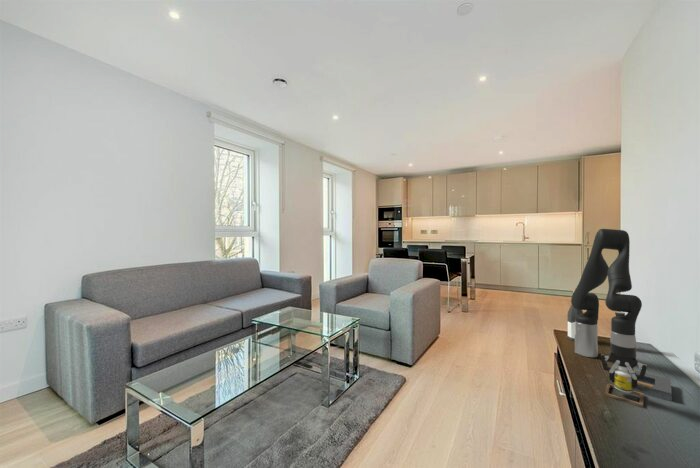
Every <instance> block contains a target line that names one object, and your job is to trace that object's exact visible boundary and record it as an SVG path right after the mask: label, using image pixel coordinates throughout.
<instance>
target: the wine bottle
mask: <svg viewBox="0 0 700 468" xmlns="http://www.w3.org/2000/svg"><path fill="white" fill-rule="evenodd" d="M574 291H575V289H574V290H573V291H572V294H573V293H574ZM583 313H584V310H579V309H575V308H574V307H573V306H572V304H571V306H569V309H568V310H567V339H569V340H570V341H573V342H575V335H576V330H575V317H576V316H577V315H579V314H583Z"/></svg>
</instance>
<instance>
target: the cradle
mask: <svg viewBox="0 0 700 468" xmlns="http://www.w3.org/2000/svg"><path fill="white" fill-rule="evenodd" d="M611 388H612V389H615V390H617V389H616V388H615V387H614V384H612V383H607V384H606V387H605V389H604V393H603V394H604V395H606V396H605V397H607V396H609V397H608V398H610V397H612V398H611V399H613V398H615V399H614V400H617V399H618V401H620V400H621V401H620V402H623V401H624V403H626V402H627V404H630V403H631V404H630V405H633V404H634V405H633V406H636V405H637V407H639V406H641V407H640V408H644V401H645V400H644V399H645V394H644V393H641V392H637V391H634V390H632V392H630V393H629V394H632V395H636V396H639V402H638V401H635V400H631V399H628V398H625V397H621V396H617V395H615V394H613V393H609V392H610V390H611Z"/></svg>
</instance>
